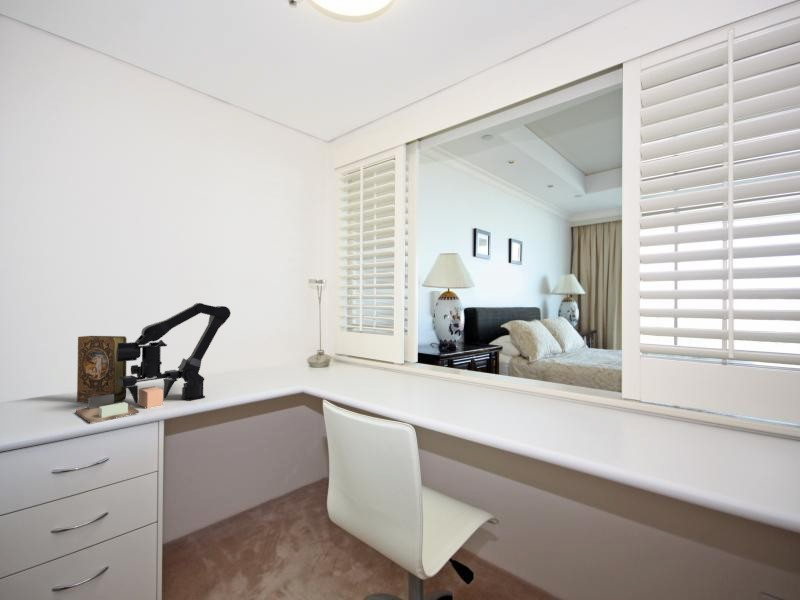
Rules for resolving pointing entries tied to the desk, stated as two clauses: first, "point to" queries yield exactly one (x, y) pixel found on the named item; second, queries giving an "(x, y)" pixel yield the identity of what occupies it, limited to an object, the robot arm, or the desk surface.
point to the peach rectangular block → (150, 397)
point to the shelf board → (93, 414)
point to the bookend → (100, 401)
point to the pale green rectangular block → (113, 409)
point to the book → (99, 368)
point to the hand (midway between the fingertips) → (150, 400)
